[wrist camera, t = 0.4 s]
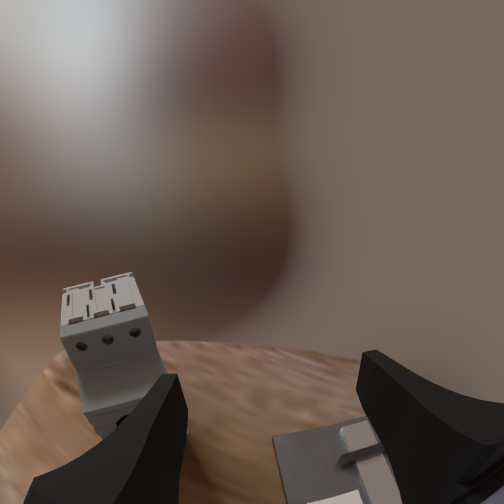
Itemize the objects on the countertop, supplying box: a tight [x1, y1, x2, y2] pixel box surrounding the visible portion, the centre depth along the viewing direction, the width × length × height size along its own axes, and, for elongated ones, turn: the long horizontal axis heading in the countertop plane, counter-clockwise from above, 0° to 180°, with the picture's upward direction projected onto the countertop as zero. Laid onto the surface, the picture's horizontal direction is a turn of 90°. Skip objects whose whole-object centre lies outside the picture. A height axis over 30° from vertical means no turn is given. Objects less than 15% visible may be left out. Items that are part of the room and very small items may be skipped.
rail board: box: [272, 416, 402, 504], centre depth 16 cm, size 20×12×2 cm, turn 8°
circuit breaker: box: [60, 272, 190, 439], centre depth 23 cm, size 8×14×15 cm, turn 31°
